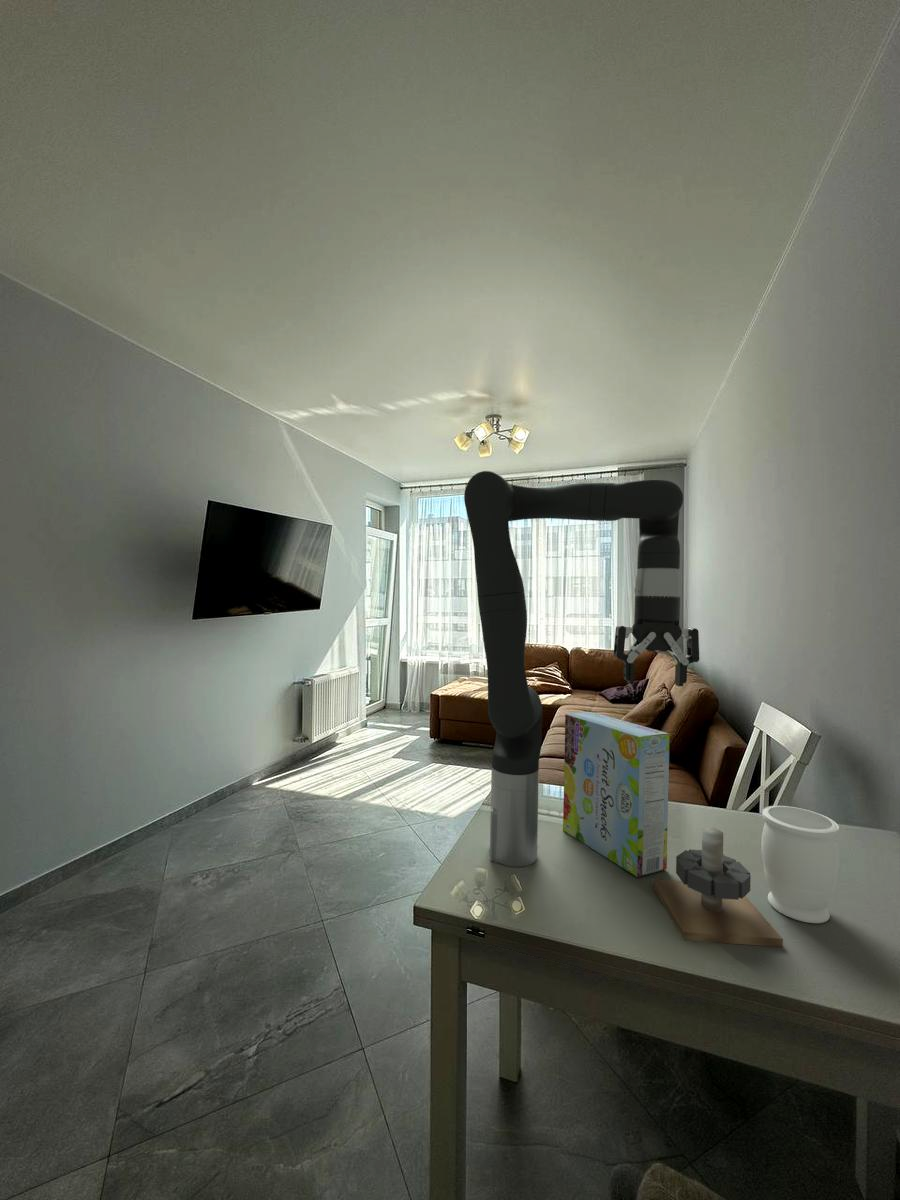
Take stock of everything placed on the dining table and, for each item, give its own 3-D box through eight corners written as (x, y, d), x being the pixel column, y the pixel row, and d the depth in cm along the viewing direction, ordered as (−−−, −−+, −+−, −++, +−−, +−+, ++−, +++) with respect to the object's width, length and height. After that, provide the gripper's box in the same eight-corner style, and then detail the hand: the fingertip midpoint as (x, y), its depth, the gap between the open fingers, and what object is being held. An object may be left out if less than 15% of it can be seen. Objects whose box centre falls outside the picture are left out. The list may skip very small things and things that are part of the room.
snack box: (671, 870, 93) (673, 732, 93) (637, 881, 89) (639, 737, 89) (590, 822, 112) (592, 709, 112) (560, 829, 108) (561, 712, 108)
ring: (692, 896, 75) (692, 881, 75) (668, 862, 85) (669, 848, 85) (761, 901, 74) (761, 885, 74) (729, 865, 84) (729, 851, 84)
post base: (683, 940, 73) (685, 850, 73) (652, 886, 87) (653, 811, 87) (782, 947, 72) (784, 856, 72) (735, 891, 86) (736, 815, 86)
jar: (811, 936, 75) (812, 837, 75) (746, 898, 84) (747, 810, 84) (852, 919, 79) (854, 825, 79) (786, 884, 88) (787, 800, 88)
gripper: (622, 593, 86) (619, 686, 86) (707, 595, 85) (704, 690, 85) (611, 593, 93) (609, 679, 93) (690, 595, 92) (687, 682, 92)
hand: (654, 684), depth 89 cm, fingers open, 8 cm apart
